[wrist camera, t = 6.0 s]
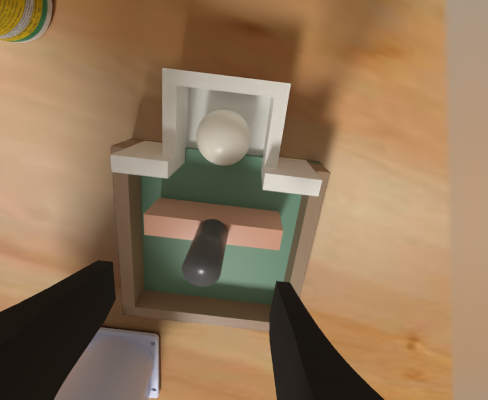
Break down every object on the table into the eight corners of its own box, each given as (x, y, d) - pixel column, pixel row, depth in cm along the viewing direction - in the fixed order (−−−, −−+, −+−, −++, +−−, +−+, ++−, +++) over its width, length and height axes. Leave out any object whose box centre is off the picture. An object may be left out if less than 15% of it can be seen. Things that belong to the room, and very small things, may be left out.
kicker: (275, 232, 20) (285, 296, 14) (159, 218, 20) (114, 276, 14) (279, 208, 20) (292, 264, 13) (159, 194, 19) (111, 243, 13)
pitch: (286, 307, 25) (294, 356, 20) (138, 290, 24) (111, 335, 20) (334, 92, 18) (363, 90, 13) (127, 66, 18) (82, 56, 13)
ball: (253, 120, 18) (247, 170, 19) (203, 114, 18) (198, 164, 19) (255, 105, 15) (247, 166, 15) (194, 98, 15) (187, 159, 15)
